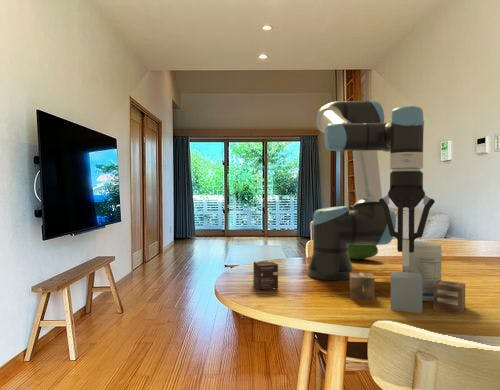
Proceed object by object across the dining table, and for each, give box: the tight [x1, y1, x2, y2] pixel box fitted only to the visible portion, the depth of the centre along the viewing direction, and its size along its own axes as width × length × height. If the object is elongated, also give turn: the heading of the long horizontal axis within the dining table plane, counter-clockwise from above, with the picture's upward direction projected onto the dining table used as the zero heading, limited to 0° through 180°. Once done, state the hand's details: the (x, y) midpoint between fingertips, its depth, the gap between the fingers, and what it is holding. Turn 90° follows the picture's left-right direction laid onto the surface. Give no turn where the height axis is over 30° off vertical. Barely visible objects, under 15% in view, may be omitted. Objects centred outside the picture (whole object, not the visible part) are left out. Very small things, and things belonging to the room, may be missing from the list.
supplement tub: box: [402, 240, 443, 302], centre depth 100 cm, size 10×10×15 cm
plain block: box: [390, 270, 423, 314], centre depth 91 cm, size 7×7×8 cm
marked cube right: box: [433, 279, 466, 315], centre depth 90 cm, size 6×6×6 cm
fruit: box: [348, 245, 379, 260], centre depth 153 cm, size 15×10×10 cm, turn 47°
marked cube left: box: [349, 271, 376, 302], centre depth 99 cm, size 6×8×6 cm
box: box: [252, 260, 279, 291], centre depth 110 cm, size 6×6×7 cm
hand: (405, 265), depth 92 cm, fingers closed
